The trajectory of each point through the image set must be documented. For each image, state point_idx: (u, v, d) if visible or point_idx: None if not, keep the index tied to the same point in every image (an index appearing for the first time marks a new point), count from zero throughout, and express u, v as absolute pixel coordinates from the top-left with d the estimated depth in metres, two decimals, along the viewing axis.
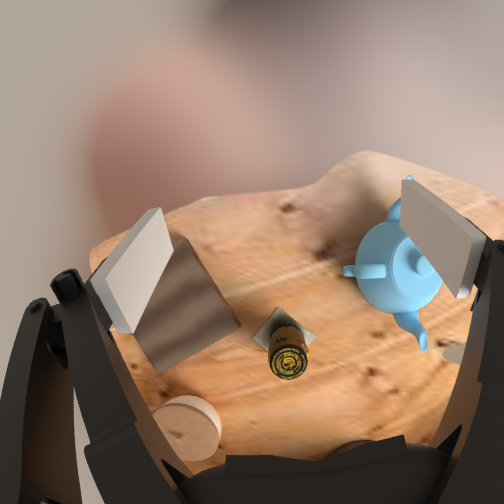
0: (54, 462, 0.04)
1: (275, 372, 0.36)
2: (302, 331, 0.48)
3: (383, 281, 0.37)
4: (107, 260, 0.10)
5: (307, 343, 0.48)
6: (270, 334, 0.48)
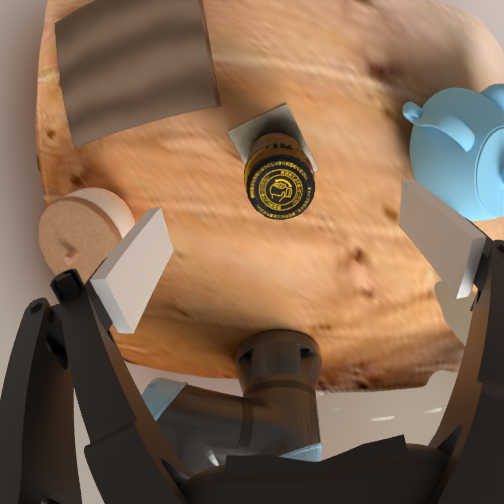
0: (54, 462, 0.04)
1: (251, 195, 0.21)
2: None
3: (461, 155, 0.19)
4: (107, 260, 0.10)
5: None
6: (256, 136, 0.30)
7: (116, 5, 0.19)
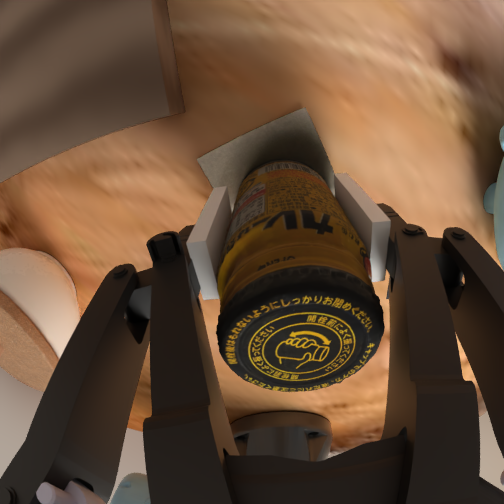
0: (98, 443, 0.05)
1: (230, 360, 0.08)
2: None
3: None
4: (197, 227, 0.11)
5: None
6: (249, 167, 0.17)
7: None
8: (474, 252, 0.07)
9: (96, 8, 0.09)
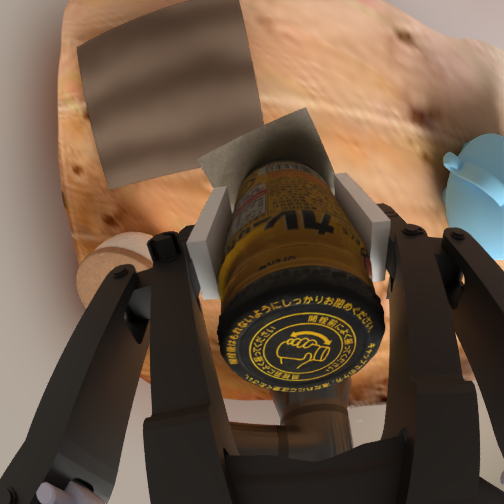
0: (98, 443, 0.05)
1: (231, 360, 0.08)
2: None
3: (495, 209, 0.20)
4: (197, 227, 0.11)
5: None
6: (250, 167, 0.17)
7: (151, 32, 0.20)
8: (474, 252, 0.07)
9: (220, 82, 0.23)
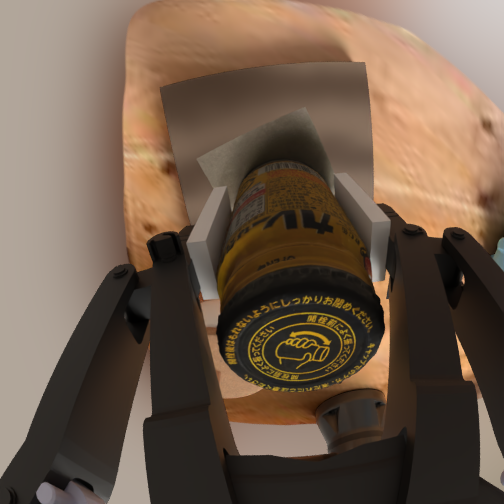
0: (98, 443, 0.05)
1: (230, 360, 0.08)
2: None
3: None
4: (197, 227, 0.11)
5: None
6: (249, 166, 0.17)
7: (266, 92, 0.21)
8: (474, 252, 0.07)
9: (340, 169, 0.24)
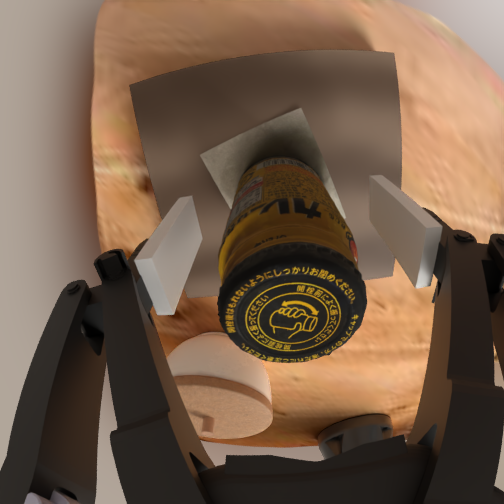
0: (73, 451, 0.05)
1: (229, 329, 0.10)
2: None
3: None
4: (149, 242, 0.11)
5: None
6: (249, 162, 0.18)
7: (267, 87, 0.16)
8: None
9: (361, 189, 0.19)
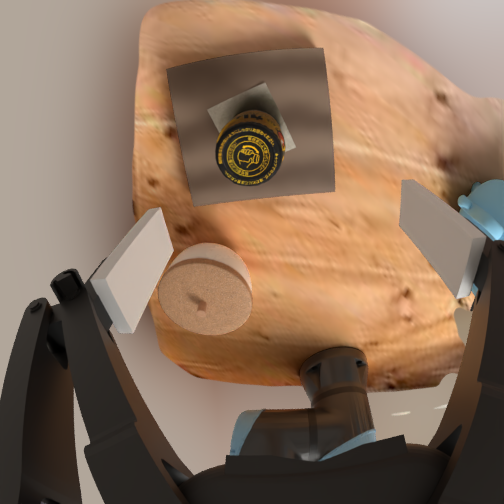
0: (54, 462, 0.04)
1: (219, 162, 0.21)
2: (281, 131, 0.30)
3: None
4: (107, 260, 0.10)
5: None
6: (235, 114, 0.30)
7: (246, 72, 0.27)
8: None
9: (304, 129, 0.30)
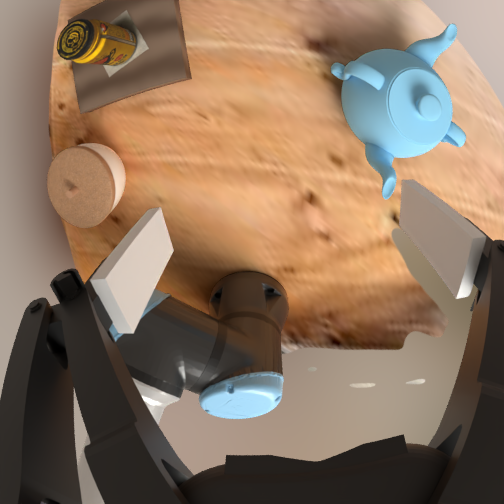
0: (54, 462, 0.04)
1: (58, 48, 0.19)
2: (138, 39, 0.29)
3: (375, 94, 0.26)
4: (107, 260, 0.10)
5: (137, 54, 0.30)
6: None
7: (115, 7, 0.25)
8: None
9: (155, 34, 0.29)
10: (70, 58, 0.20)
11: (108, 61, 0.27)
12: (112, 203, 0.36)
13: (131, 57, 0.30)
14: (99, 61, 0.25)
